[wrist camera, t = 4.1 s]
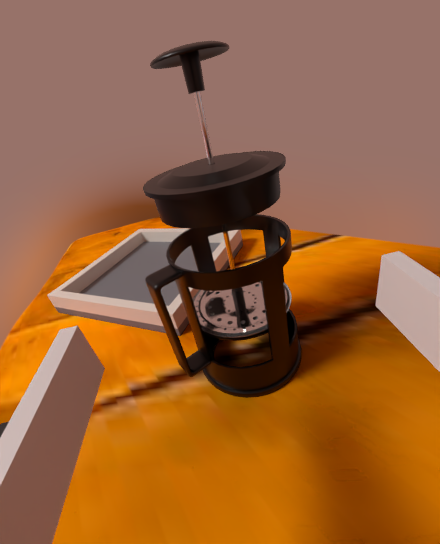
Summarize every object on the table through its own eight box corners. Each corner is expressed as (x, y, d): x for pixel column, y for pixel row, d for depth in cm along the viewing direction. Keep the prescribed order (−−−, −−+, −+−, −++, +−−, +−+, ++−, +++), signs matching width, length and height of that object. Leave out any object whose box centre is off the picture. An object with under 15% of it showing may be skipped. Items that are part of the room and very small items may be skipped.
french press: (257, 303, 32) (217, 57, 20) (328, 346, 25) (333, 7, 13) (168, 363, 27) (46, 83, 15) (226, 437, 20) (83, 25, 8)
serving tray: (242, 245, 45) (240, 228, 43) (180, 335, 30) (172, 314, 28) (144, 243, 54) (139, 229, 52) (58, 312, 39) (47, 295, 37)
